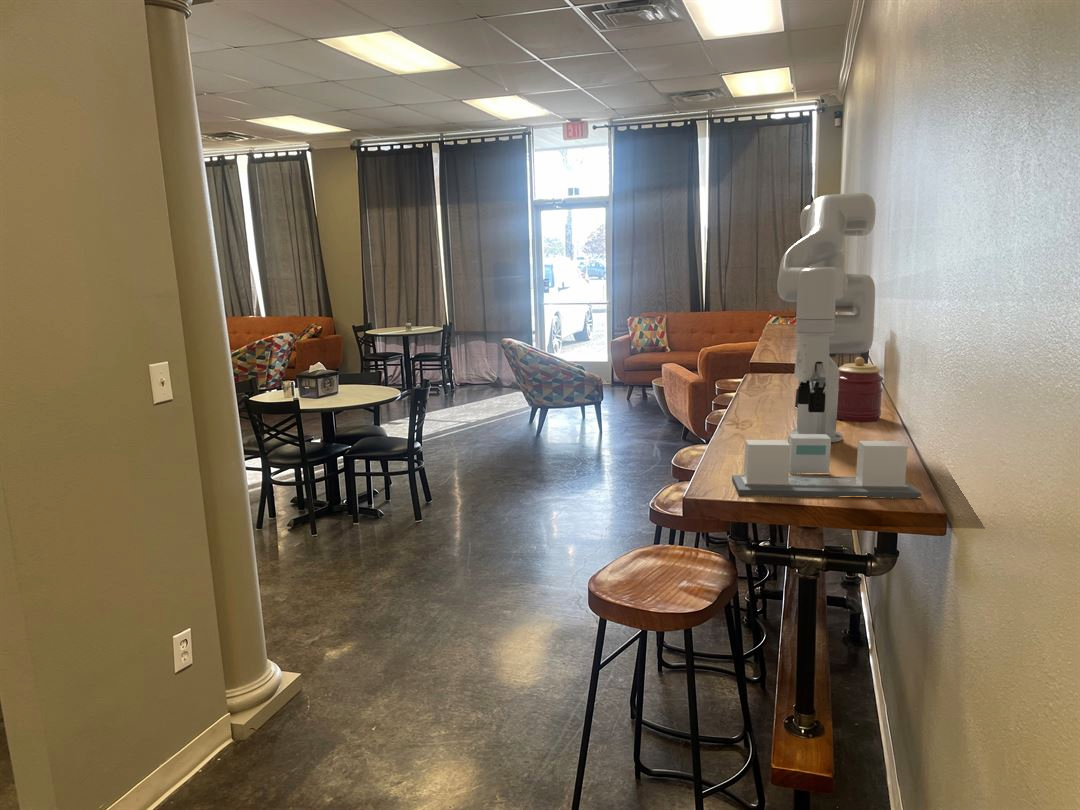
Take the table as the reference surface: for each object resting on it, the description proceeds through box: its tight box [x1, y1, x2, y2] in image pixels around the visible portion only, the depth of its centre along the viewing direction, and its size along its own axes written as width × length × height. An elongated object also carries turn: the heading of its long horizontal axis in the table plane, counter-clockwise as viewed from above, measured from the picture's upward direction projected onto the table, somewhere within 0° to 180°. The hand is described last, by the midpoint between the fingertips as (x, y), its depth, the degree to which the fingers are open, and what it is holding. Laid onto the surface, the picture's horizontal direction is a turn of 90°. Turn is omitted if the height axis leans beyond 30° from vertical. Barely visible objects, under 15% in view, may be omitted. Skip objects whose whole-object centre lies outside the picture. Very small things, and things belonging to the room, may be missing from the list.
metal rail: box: [741, 477, 908, 489], centre depth 146 cm, size 5×31×1 cm, turn 83°
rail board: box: [731, 474, 922, 499], centre depth 146 cm, size 10×34×1 cm, turn 83°
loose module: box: [787, 433, 832, 475], centre depth 158 cm, size 4×8×8 cm, turn 83°
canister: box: [837, 356, 884, 423], centre depth 208 cm, size 13×13×18 cm
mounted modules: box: [743, 439, 909, 486], centre depth 145 cm, size 4×30×8 cm, turn 83°
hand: (810, 407), depth 155 cm, fingers open, 9 cm apart
